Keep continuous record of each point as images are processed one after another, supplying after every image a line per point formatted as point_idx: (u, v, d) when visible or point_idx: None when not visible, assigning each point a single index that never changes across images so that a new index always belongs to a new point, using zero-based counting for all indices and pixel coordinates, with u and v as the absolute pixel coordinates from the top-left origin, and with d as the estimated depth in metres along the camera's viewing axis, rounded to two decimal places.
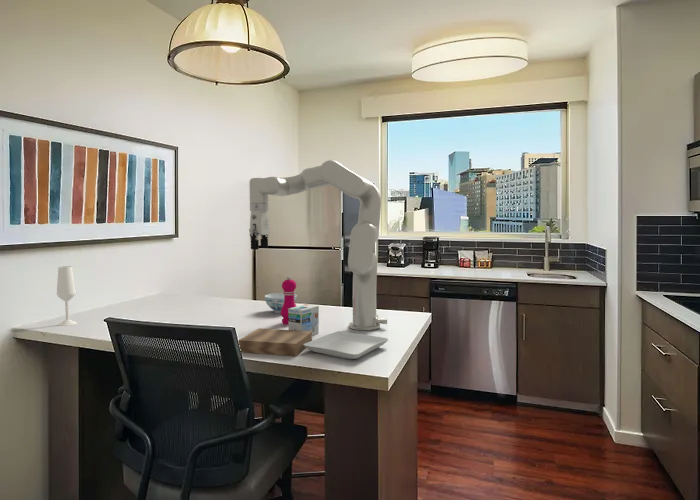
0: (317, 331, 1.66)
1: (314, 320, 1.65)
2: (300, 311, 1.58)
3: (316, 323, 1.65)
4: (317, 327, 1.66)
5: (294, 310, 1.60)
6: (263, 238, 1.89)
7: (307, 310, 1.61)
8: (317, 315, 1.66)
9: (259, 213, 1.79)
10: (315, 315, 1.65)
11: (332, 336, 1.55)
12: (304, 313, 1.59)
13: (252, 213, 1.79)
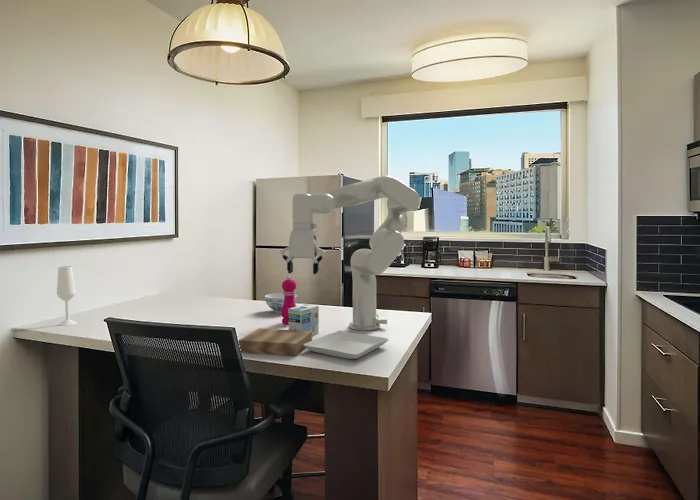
0: (317, 331, 1.66)
1: (314, 320, 1.65)
2: (300, 311, 1.58)
3: (316, 323, 1.65)
4: (317, 327, 1.66)
5: (294, 310, 1.60)
6: (290, 262, 1.63)
7: (307, 310, 1.61)
8: (317, 315, 1.66)
9: None
10: (315, 315, 1.65)
11: (332, 336, 1.55)
12: (304, 313, 1.59)
13: (313, 234, 1.60)
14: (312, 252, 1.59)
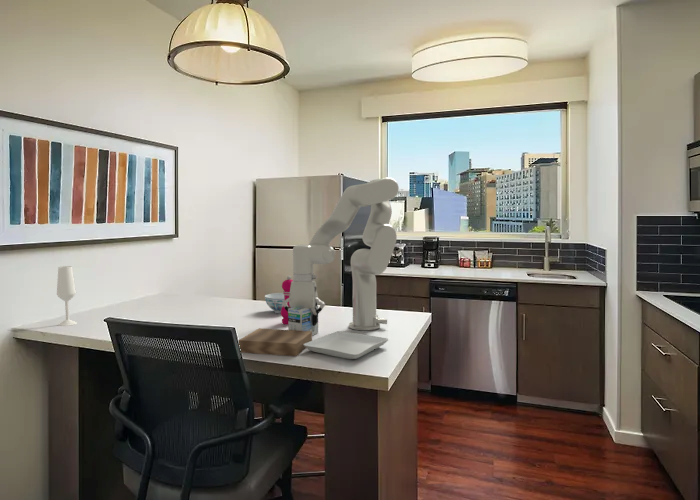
0: (316, 331, 1.66)
1: None
2: (300, 311, 1.58)
3: None
4: (317, 327, 1.66)
5: (294, 310, 1.60)
6: None
7: (307, 310, 1.61)
8: None
9: None
10: None
11: (332, 336, 1.55)
12: (304, 313, 1.59)
13: (313, 285, 1.61)
14: (312, 303, 1.61)
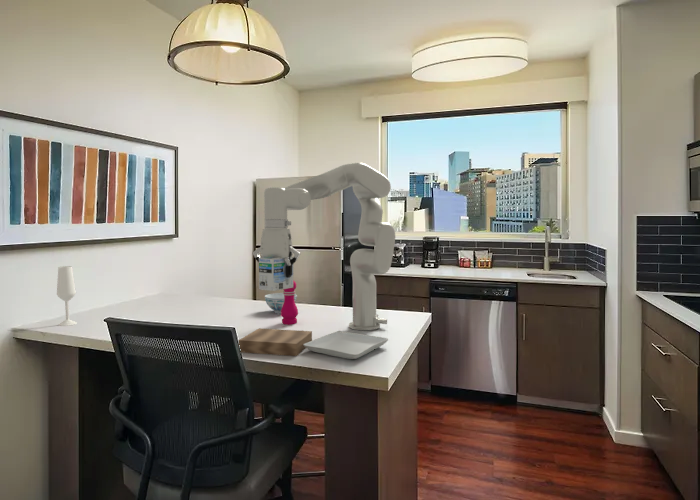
0: (291, 284, 1.49)
1: None
2: (271, 260, 1.41)
3: None
4: (292, 280, 1.50)
5: (265, 259, 1.43)
6: None
7: (280, 259, 1.44)
8: (292, 267, 1.49)
9: None
10: None
11: (332, 336, 1.55)
12: (276, 262, 1.42)
13: (287, 232, 1.45)
14: (286, 252, 1.44)
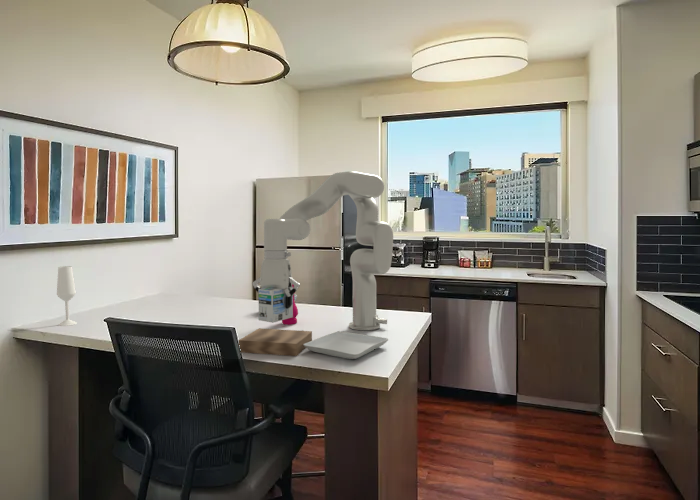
0: (290, 315, 1.50)
1: None
2: (271, 291, 1.42)
3: None
4: (291, 310, 1.50)
5: (265, 290, 1.43)
6: None
7: (279, 291, 1.44)
8: None
9: None
10: None
11: (332, 336, 1.55)
12: (276, 294, 1.43)
13: (287, 263, 1.45)
14: (285, 283, 1.44)
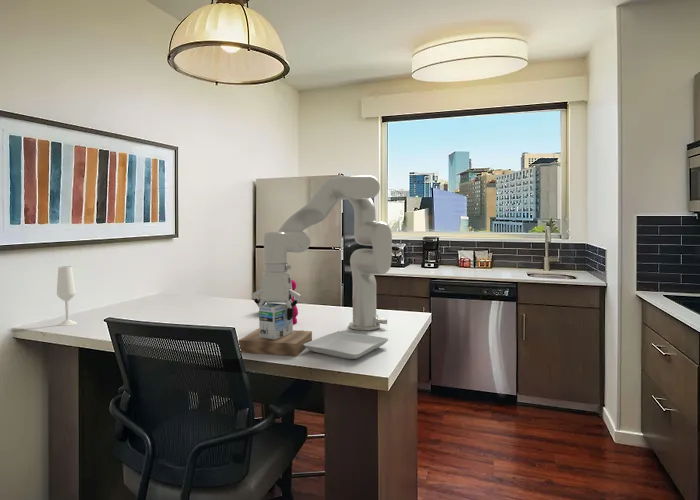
0: (291, 330, 1.51)
1: None
2: (272, 309, 1.42)
3: (289, 321, 1.50)
4: (291, 326, 1.51)
5: (266, 308, 1.44)
6: None
7: (280, 307, 1.45)
8: None
9: None
10: None
11: (332, 336, 1.55)
12: (277, 311, 1.43)
13: (287, 276, 1.45)
14: (286, 296, 1.45)
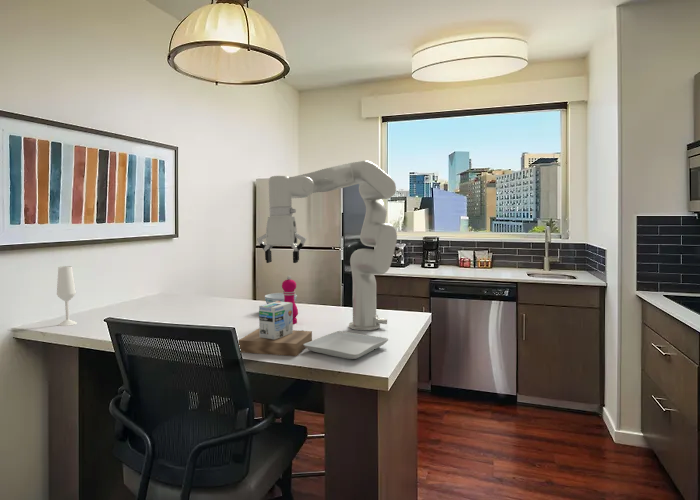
0: (291, 330, 1.51)
1: (288, 318, 1.49)
2: (272, 309, 1.42)
3: (289, 321, 1.50)
4: (291, 326, 1.51)
5: (266, 308, 1.44)
6: (268, 251, 1.51)
7: (280, 307, 1.45)
8: (291, 313, 1.51)
9: None
10: (289, 312, 1.50)
11: (332, 336, 1.55)
12: (277, 311, 1.43)
13: (292, 219, 1.47)
14: (291, 239, 1.47)
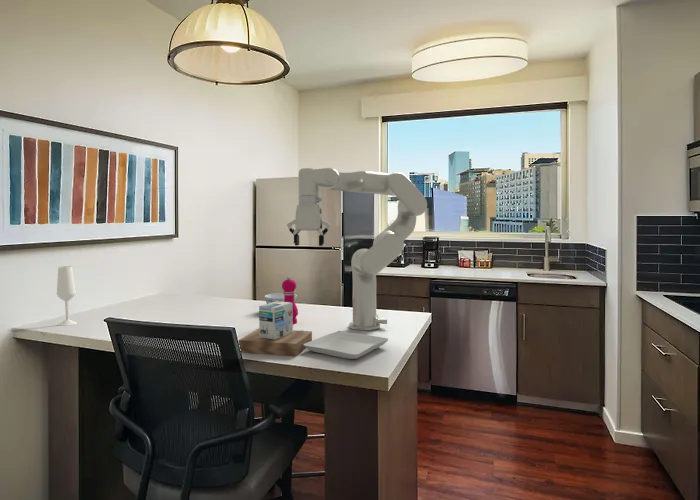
0: (291, 330, 1.51)
1: (288, 318, 1.49)
2: (272, 309, 1.42)
3: (289, 321, 1.50)
4: (291, 326, 1.51)
5: (266, 308, 1.44)
6: (297, 235, 1.70)
7: (280, 307, 1.45)
8: (291, 313, 1.51)
9: None
10: (289, 312, 1.50)
11: (332, 336, 1.55)
12: (277, 311, 1.43)
13: (318, 207, 1.66)
14: (318, 224, 1.66)
